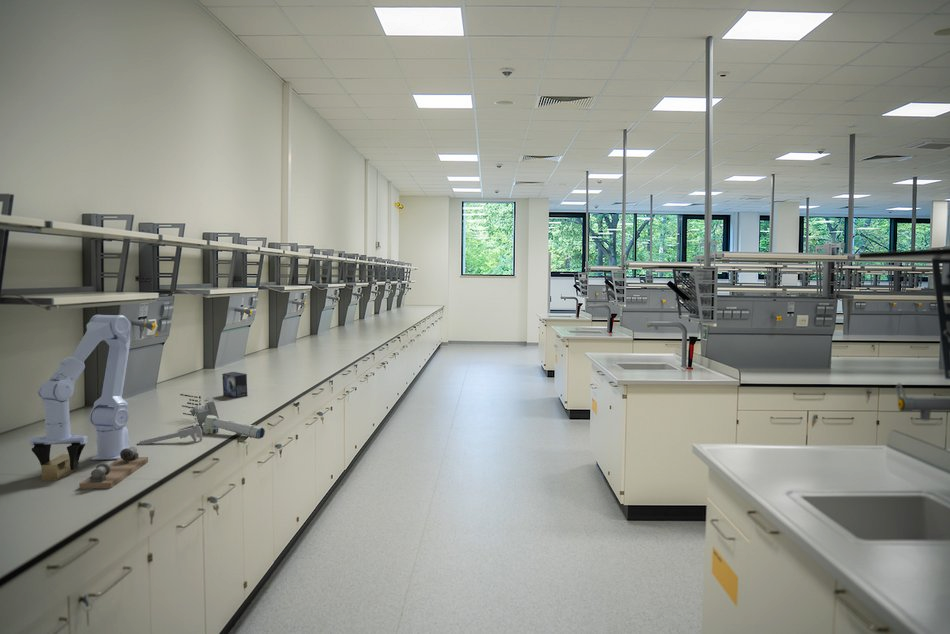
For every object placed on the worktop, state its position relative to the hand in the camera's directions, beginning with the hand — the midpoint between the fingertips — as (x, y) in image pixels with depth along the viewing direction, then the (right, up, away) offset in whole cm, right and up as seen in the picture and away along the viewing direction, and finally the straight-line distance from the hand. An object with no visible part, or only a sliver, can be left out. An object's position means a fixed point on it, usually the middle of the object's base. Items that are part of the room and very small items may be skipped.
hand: (60, 469), depth 171 cm
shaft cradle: (+16, -1, 0) cm, 16 cm away
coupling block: (0, -2, 0) cm, 2 cm away
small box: (+7, +7, +107) cm, 107 cm away
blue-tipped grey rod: (+32, +1, +41) cm, 52 cm away
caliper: (+15, +1, +32) cm, 35 cm away
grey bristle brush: (+13, +3, +59) cm, 60 cm away
